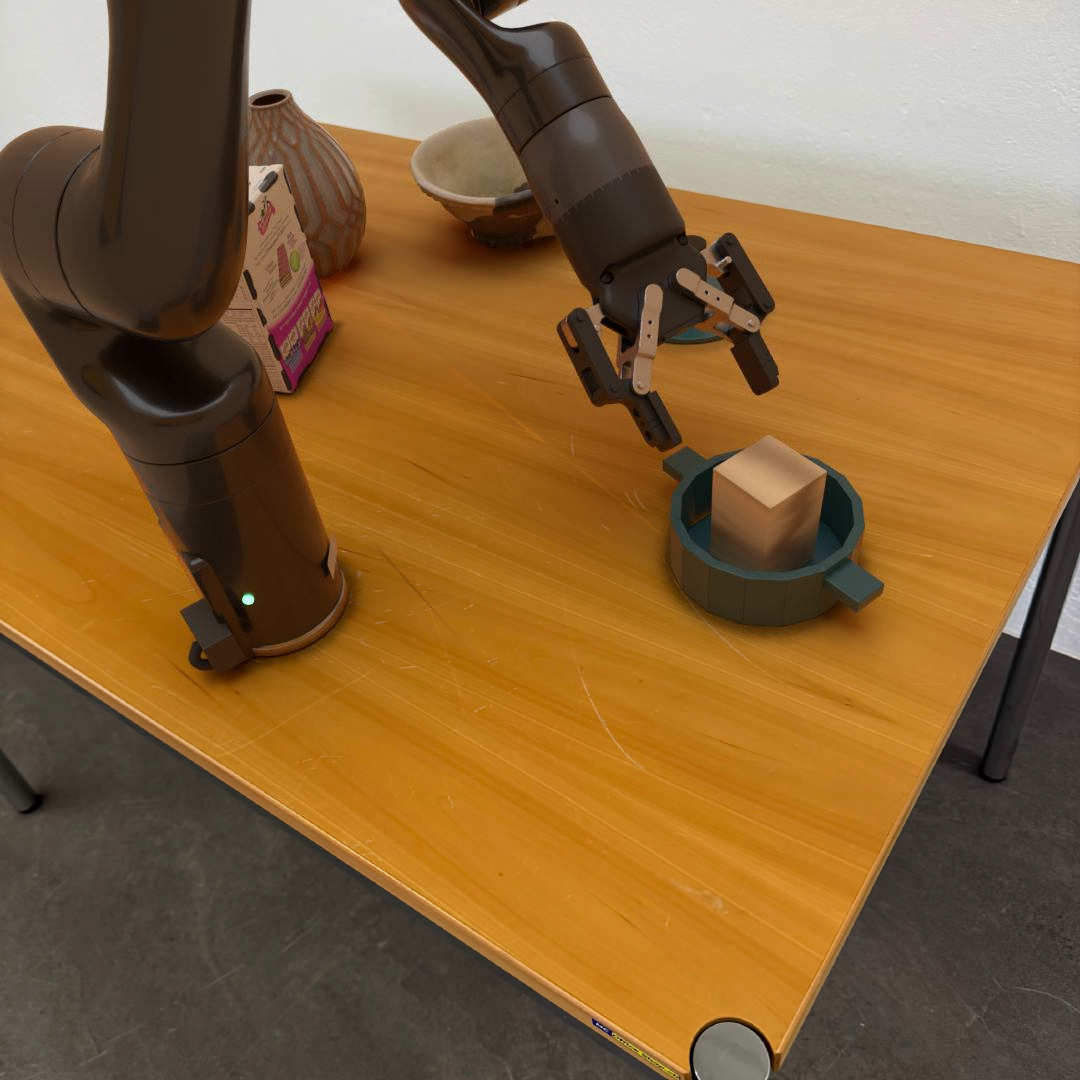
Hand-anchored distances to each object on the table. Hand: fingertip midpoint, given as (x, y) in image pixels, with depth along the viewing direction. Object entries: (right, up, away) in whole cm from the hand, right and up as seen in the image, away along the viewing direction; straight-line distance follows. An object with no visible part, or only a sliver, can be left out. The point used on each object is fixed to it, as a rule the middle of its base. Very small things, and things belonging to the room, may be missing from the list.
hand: (721, 418), depth 62 cm
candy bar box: (-35, +9, +28) cm, 46 cm away
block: (+3, -9, +4) cm, 10 cm away
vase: (-36, +21, +40) cm, 58 cm away
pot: (+4, -9, +4) cm, 11 cm away
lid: (+2, +14, +27) cm, 30 cm away
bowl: (-15, +25, +40) cm, 50 cm away
